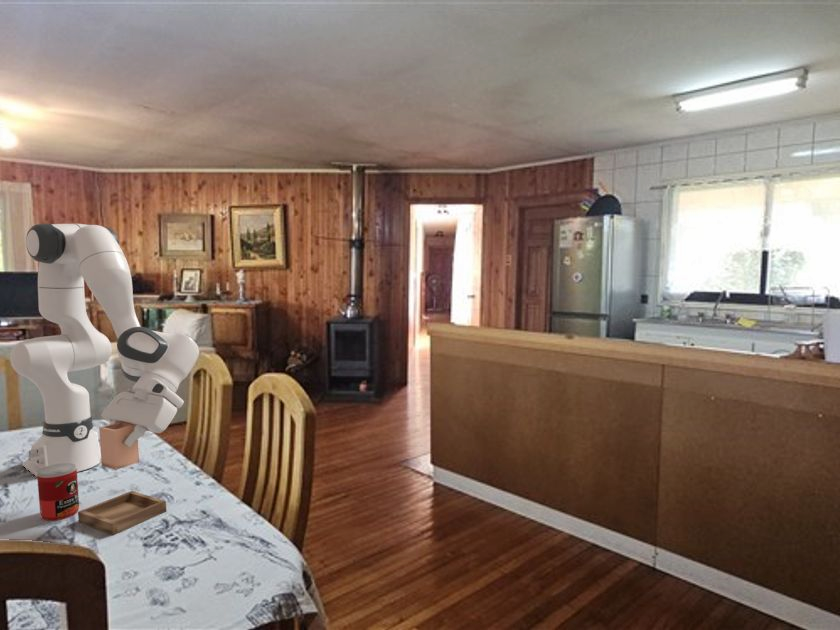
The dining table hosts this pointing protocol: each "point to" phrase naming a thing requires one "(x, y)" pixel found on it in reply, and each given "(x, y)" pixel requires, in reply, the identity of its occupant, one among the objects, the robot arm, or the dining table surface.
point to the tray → (122, 512)
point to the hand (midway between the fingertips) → (116, 442)
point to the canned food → (58, 491)
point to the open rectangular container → (117, 446)
